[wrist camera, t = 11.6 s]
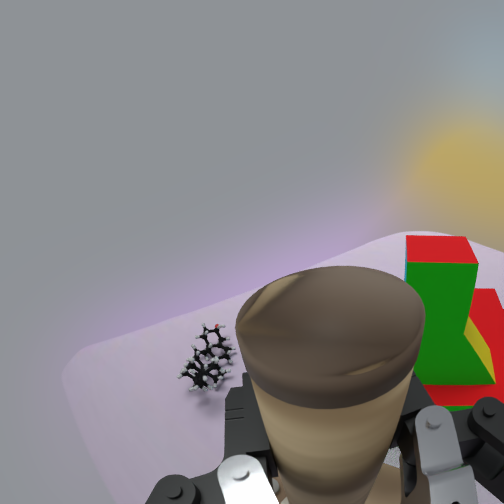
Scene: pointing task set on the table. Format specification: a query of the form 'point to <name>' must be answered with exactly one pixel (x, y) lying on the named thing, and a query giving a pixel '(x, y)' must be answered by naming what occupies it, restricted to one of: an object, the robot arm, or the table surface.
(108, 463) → the table surface
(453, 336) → the building blocks toy
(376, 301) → the oak post
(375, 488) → the walnut base board
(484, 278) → the table surface
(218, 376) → the molecular model
